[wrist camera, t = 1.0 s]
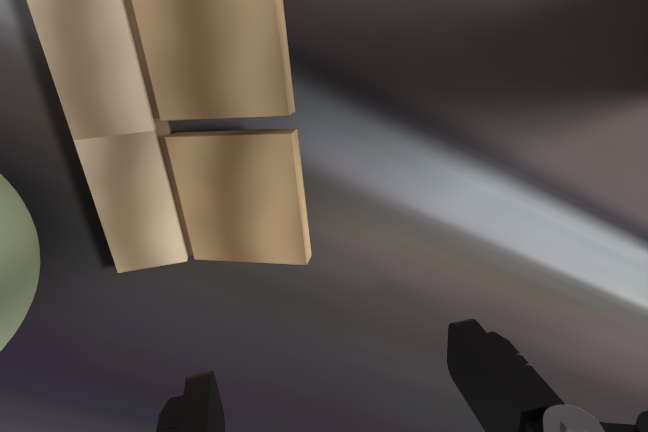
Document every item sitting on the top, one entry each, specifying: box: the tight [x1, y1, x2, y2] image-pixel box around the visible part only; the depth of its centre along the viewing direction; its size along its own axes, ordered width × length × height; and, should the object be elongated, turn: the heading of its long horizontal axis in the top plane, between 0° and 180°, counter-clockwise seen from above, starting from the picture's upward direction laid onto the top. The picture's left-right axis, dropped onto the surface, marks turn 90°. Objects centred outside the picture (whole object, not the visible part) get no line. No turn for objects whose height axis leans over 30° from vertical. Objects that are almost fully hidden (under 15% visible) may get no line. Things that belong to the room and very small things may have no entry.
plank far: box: [165, 129, 311, 265], centre depth 27 cm, size 8×8×1 cm
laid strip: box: [27, 0, 193, 273], centre depth 26 cm, size 5×18×1 cm, turn 5°
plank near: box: [132, 0, 295, 121], centre depth 23 cm, size 8×8×1 cm
